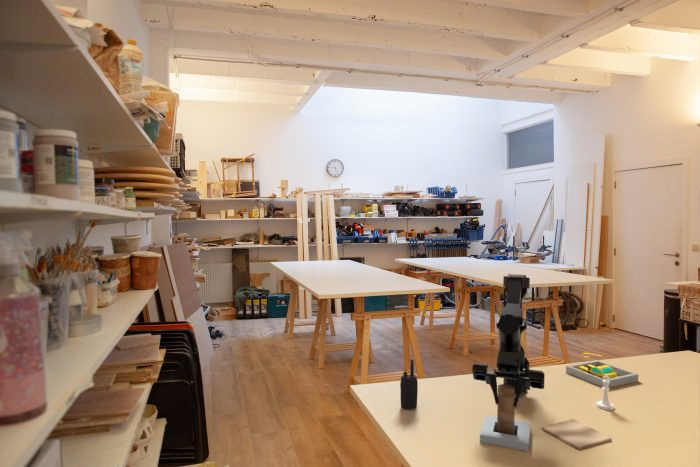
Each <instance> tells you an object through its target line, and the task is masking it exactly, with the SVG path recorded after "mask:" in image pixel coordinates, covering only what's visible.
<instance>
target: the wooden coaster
mask: <svg viewBox="0 0 700 467" xmlns="http://www.w3.org/2000/svg"><path fill="white" fill-rule="evenodd" d="M541 429H542V430H543V431H544V432H546V433H549V434H550V435H551V436H553V437H555V438H556V439H559V440H560V441H562V442H565V443H566V444H567V445H570V446H571V447H573V448H575V449H576V450H578V451H579V450H582V449H583V450H584V449H586V448H590V447H592V446H596V445H600V444H604V443H607V442H610V441H612V437H610V436H609V435H607V434H605V433H603V432H600V431H598V430H596V429H594V428H592V427H590V426H589V425H587V424H584V423H582V422H580V421H578V420H576V419H574V418H572V419H568V420H564V421H560V422H557V423H556V422H555V423H552V424H548V425H543V426H542V427H541Z"/></svg>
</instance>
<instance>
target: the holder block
mask: <svg viewBox="0 0 700 467" xmlns="http://www.w3.org/2000/svg"><path fill="white" fill-rule="evenodd" d="M496 430H497V417H496V416H492V415H491V416H490V415H484V419H483V422H482V425H481V430H480V432H479V442H480V443H483V444H488V445H494V446H499V447H502V448H503V447H504V448H510V449H515V450H520V451H526V452H529V451H530V437H531V436H530V435H531V423H530V422H525V421H521V420H515V424H514V433H515V434H516V435H515V434H514V435H509V434H503V433H498V432H497V431H496Z"/></svg>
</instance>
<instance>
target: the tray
mask: <svg viewBox="0 0 700 467" xmlns="http://www.w3.org/2000/svg"><path fill="white" fill-rule="evenodd" d="M584 365H593V366H595V367H598V366H603V365H608V366H610V367H611V368H612V369H613V371H614V372H615V373H616V374H617V377H615V378H610V379H607V380H608V381H610V383H609V386H608V388H609V389H610V388H615V387H618V386H622V385H628V384H632V383H636V382H639V373H636V372H633V371H630V370H628V369H624V368H621V367H619V366H615V365H613V364H611V363H608V362H604V361H600V360H598V359H595V360H590V361H585V362H579V363H575V364H570V365H565V374H568V375H571V376H573V377H575V378H578V379H581V380H584V381H586V382H588V383H591V384H593V385H596V386H598V387H601V388H602V387H604V385H603V382H602V381H603V380H605V379H602V378H600V377H597V376H595V375H592V374H589V373H587V372H584V371H581V370H579V369H576V367H579V366H584Z"/></svg>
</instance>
